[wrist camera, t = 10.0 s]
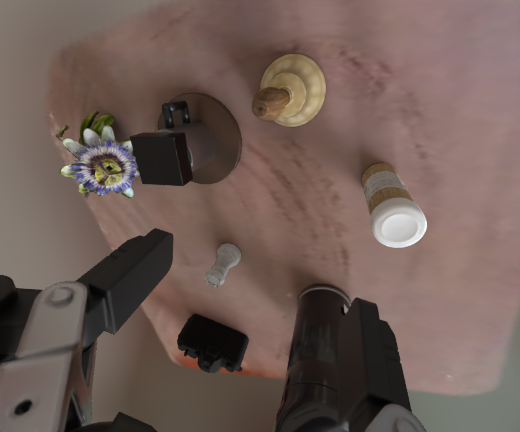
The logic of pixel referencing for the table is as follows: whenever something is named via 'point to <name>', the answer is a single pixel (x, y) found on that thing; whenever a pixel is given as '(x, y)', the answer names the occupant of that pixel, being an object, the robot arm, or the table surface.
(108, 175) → the passion flower
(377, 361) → the robot arm
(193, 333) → the film camera
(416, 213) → the sprinkles bottle
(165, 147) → the black-lidded handled container
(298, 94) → the hand bell
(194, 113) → the disc
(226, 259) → the rook chess piece
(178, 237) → the table surface
